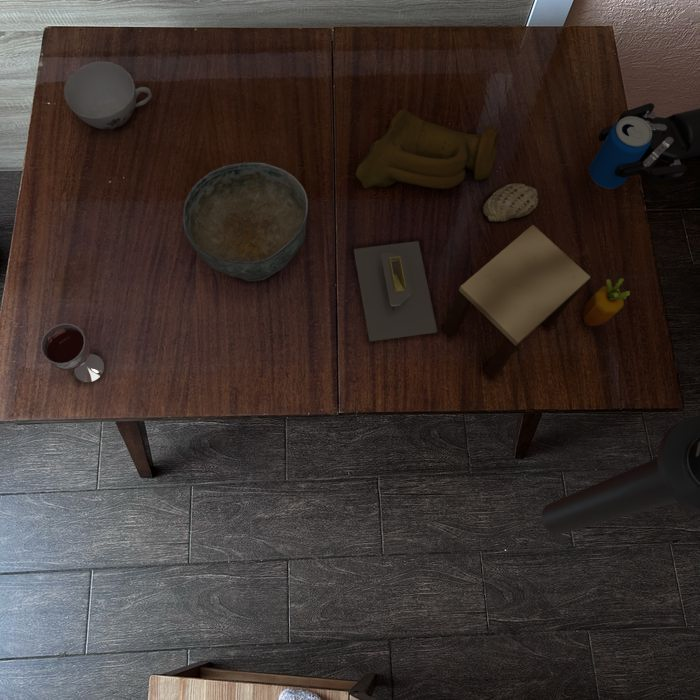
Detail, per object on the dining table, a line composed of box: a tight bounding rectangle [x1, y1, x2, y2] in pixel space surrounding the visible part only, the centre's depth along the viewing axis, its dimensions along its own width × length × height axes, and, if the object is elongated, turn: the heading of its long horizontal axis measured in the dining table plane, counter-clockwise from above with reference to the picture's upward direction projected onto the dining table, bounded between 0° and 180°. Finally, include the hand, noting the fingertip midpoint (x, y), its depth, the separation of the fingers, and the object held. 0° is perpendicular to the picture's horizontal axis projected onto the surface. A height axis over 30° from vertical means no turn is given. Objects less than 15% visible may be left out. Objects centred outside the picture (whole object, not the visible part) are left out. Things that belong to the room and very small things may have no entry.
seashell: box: [482, 182, 539, 223], centre depth 127 cm, size 8×6×10 cm
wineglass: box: [40, 322, 105, 383], centre depth 111 cm, size 7×7×12 cm
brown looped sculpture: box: [355, 109, 500, 190], centre depth 126 cm, size 18×13×22 cm
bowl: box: [182, 161, 309, 282], centre depth 118 cm, size 20×19×15 cm
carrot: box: [583, 277, 631, 327], centre depth 115 cm, size 5×5×15 cm
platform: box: [353, 240, 438, 342], centre depth 120 cm, size 12×18×7 cm, turn 9°
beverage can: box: [588, 116, 652, 190], centre depth 115 cm, size 6×6×12 cm
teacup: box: [63, 60, 153, 130], centre depth 130 cm, size 15×12×8 cm
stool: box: [441, 224, 591, 380], centre depth 113 cm, size 12×16×18 cm
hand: (609, 153), depth 114 cm, fingers closed on beverage can, 6 cm apart
